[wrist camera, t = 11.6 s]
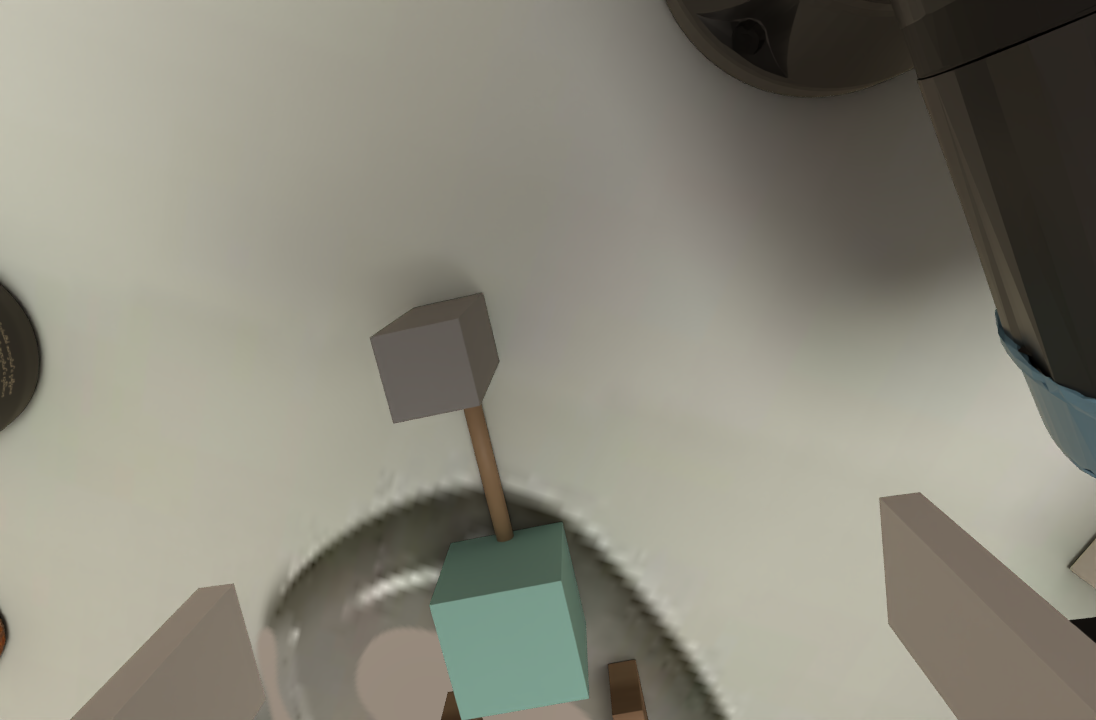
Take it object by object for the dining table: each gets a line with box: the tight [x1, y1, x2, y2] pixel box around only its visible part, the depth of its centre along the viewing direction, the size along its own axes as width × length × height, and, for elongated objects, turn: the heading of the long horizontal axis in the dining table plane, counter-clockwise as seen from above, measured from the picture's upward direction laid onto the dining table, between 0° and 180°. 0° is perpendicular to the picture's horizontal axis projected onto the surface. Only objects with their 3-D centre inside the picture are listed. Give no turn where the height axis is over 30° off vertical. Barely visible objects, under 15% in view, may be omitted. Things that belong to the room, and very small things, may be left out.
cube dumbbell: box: [370, 293, 589, 720], centre depth 33 cm, size 18×6×8 cm, turn 12°
